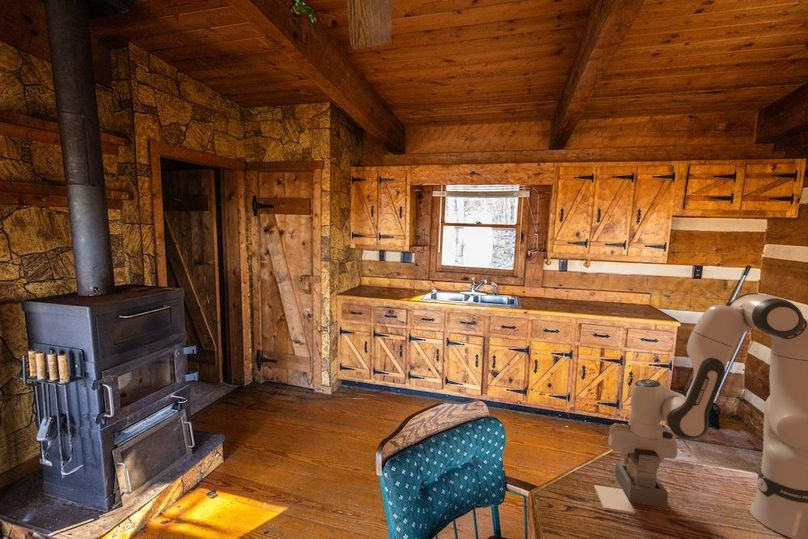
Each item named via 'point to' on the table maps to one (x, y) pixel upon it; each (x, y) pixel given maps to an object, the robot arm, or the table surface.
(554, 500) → the table surface
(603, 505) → the mat
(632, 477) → the coffee box
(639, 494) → the rectangular frame
